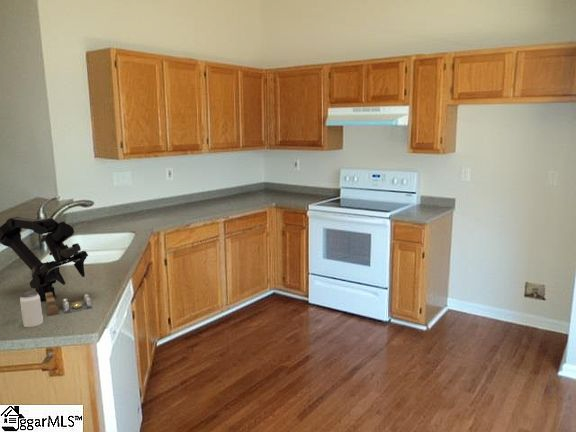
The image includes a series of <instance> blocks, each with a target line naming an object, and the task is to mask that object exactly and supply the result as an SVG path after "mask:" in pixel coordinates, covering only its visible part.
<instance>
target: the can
mask: <svg viewBox="0 0 576 432" xmlns="http://www.w3.org/2000/svg"><path fill="white" fill-rule="evenodd" d="M19 301H20V302H19V303H20V309H21V317H22V324H23V326H24V328H33V327H34V328H35V327H38V326H39V325H42V324H43V323H44V318H43V308H42V301H40V296H39V295H38V292H36V290H34V291H27V292H25V293H22V294H20V298H19Z"/></svg>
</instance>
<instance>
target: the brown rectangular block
mask: <svg viewBox="0 0 576 432" xmlns="http://www.w3.org/2000/svg"><path fill="white" fill-rule="evenodd" d="M45 296H46V301H45V302H46V307H45V309H46V316H47V317H50V316H56V315H59V314H60V311H59V306H58V305H56V299H55V297H54V296H53V293H52V292H49V293H45Z"/></svg>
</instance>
